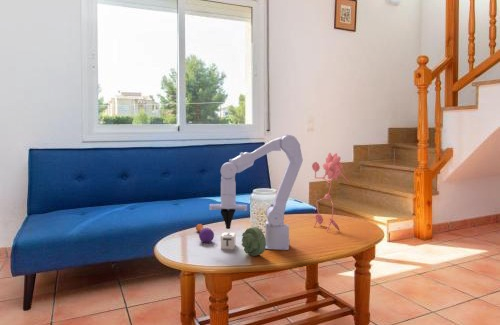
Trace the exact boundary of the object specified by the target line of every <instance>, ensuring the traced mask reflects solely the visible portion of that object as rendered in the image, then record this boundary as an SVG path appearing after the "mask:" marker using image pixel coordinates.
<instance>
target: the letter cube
mask: <svg viewBox="0 0 500 325" xmlns="http://www.w3.org/2000/svg"><path fill="white" fill-rule="evenodd" d="M236 234H237V233H236V232H222V234H221V236H220V249H221V250H235V246H236Z"/></svg>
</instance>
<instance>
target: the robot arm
mask: <svg viewBox="0 0 500 325" xmlns="http://www.w3.org/2000/svg"><path fill="white" fill-rule="evenodd" d="M273 151H274V152H275V151H276V152H282V151H283V152H284V153H285V154H286V157H287V159H288V163H287V166H286V168H285V170H284V171H285V172H284V174H283V176H282V178H281V181H280V184H279V186H278V189H277V191H276V194H275V197H274V198H273V200H272V201H271V204H270V205H269V206H268V207H267V208H266V211H265V215H266V218H267V220H266V222H265V235H264V236H265V240H266V247H265V250H277V251H278V250H281V251H286V250H287V251H288V250H290V249H289V248H290V246H289V245H290V244H291V242H290V240H291V239H290V225H289V224H285V223H284V220H285V212H286V208H287V207H286V206H287V202H288V199H289V198H290V195H291V192H292V190H293V187H294V184H295V182H296V179H297V177H298V174H299V171H300V170H301V166H302V163H303V160H304V159H303V155H302V149H301V143H300V142H299V141H298V139H297V137H295V136H294V135H291V134H283V135H282V136H279V137H276V138H274V139H272V140H270V141H268V142H267V143H265V144H263V145H261V146H260V147H258V148H256V149H254V151H252V152H248V151H245V152H242V151H241V152H239V155H237V156H235V157H234V158H230V159H229V160H228V162H225V163H223V164H222V165H221V168H220V175H221V177H220V203H210V204H209V206H208V207H209V208H208V209H209V211H212V210H214V211H215V210H216V211H217V210H218V211H219V210H220V214H221V217H222V219H223V221H224V225H225V229H226V230H230V229H231V225H232V220H233V218H234V215H235V212H236V211H244V212H247V210H248V205H247V204H241V203H240V204H238V203H237V202H236V199H237V198H236V197H237V196H236V195H237V194H236V191H237V190H236V189H237V188H236V186H237V182H236V174H237V173H238V174H239V173H242V172H243V171H245V170H246V169H248V168H251V167H252V166H254V162H255V161H256V160H257V159H260V158H262V157H264V156H265V155H268V154H269V153H271V152H273Z"/></svg>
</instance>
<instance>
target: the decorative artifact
mask: <svg viewBox="0 0 500 325" xmlns="http://www.w3.org/2000/svg"><path fill="white" fill-rule="evenodd" d="M241 236H242V238H241V242H242V243H241V245H242V247H243V248H244V249H243V250H244V252H245V253H246V254H247V255H250V256H253V257H255V256H259V255H262V254H263V253H264V252H265V251H266V249H265V247H266V240H265V235H264V233H263V231H262V230H261V229H260V228H259V227H257V226H254V227H249V228H248V227H247V229H246V230H245V231H244V232H242V234H241Z"/></svg>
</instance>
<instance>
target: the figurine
mask: <svg viewBox="0 0 500 325" xmlns="http://www.w3.org/2000/svg"><path fill="white" fill-rule="evenodd" d="M311 167H312V170H313V171H314V179H322V180H324V181H326V182H327V183H328V184H329V189H328V192H327V193H326V194H325V195H324V197H323V198H321V199H318V200H316V208H317V214H316V215H315V218H314V219H315V223H314V225H313V227H314V228H315V227H316V225H317V223H318V224H319V225H322V224H323V223H324V217H323V216H322V215H321V214H320V211H319V203H318V202H319V201H322V200H324V199H325V200H326V201H328V200H330V202H331V204H332V207H334V202H333V201H332V198H331V194H330V191H331V188H332V186H333V185H332V184H333V183H332V181H333V180H335V181H337V180H338V178H339V176H342V177H343V178H344V179H345V181H347V182H348V183H349V184H350V183H351V182H350V181H349V179H348V178H346V176H345V175H344V174H343V173H342V169H343V168H344V165H343V162H341V156H338V153H334V154H332V153H331V152H328V154H327V156H326V157H325V163H323V164H322V168H323V169H324V170H325V172H324V175H323V177H322V176H321V177H318V176H317V172H319V171H320V169H321V166H320V164H319V163H318V162H317V161H314V162H313V163H312V164H311ZM326 177H327V178H326ZM329 180H330V181H329ZM331 213H332V214H331V217H329V221H330V222H329V221H328V222H327V221H326V223H327V224H328V226H327V229H326V233H328V231H329V229H330V226H331V225H332V226H333V227H334V228H335V229H337V231H339V232H340V228H339V224H338V223H336V221H335V220H334V218H333V216H334V208H332V211H331ZM344 227H345V228H347V226H346V225H344ZM335 235H338V234H333V236H335Z"/></svg>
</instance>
